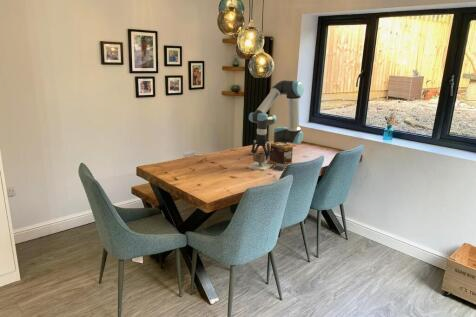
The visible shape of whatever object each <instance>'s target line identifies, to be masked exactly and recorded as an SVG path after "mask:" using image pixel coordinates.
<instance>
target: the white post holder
mask: <svg viewBox="0 0 476 317" xmlns="http://www.w3.org/2000/svg"><path fill="white" fill-rule="evenodd" d="M272 167H273V164H269V163H266V164H264V163H260V162H253V163H252V164H250V165H248V166H247V168H248V169H253V170H258V171H262V172H263V171H264V172H265V171H267V170H269V169H270V168H272Z"/></svg>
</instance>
